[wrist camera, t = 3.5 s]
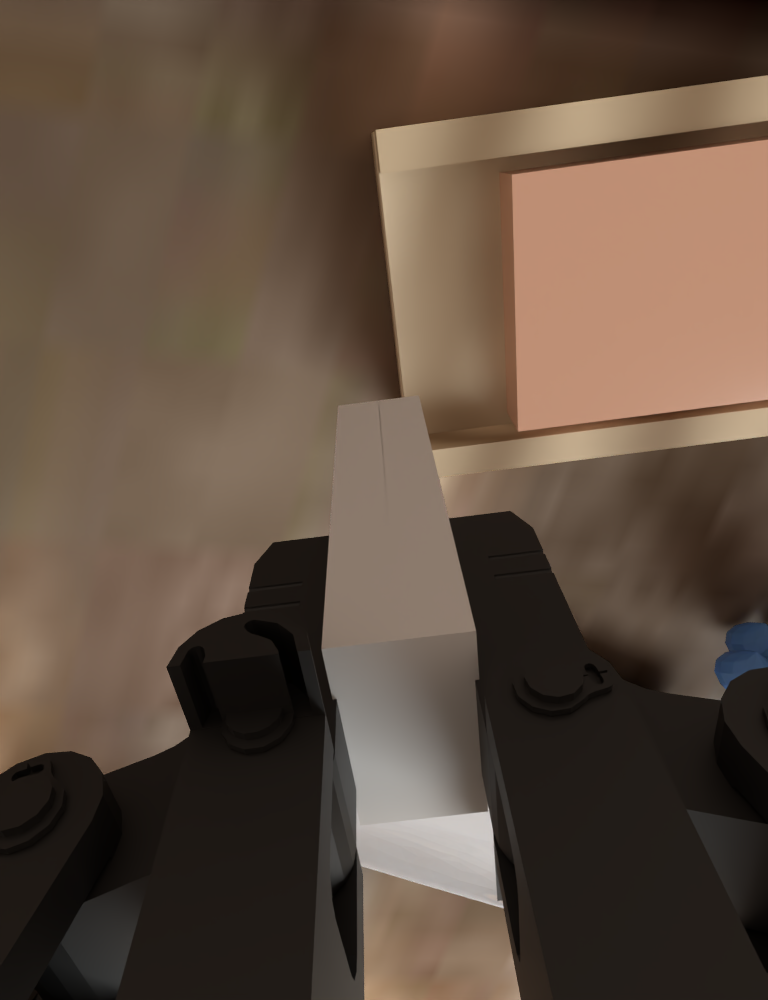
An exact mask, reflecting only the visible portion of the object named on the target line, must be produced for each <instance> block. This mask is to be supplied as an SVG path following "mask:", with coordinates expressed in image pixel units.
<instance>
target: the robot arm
mask: <svg viewBox="0 0 768 1000" xmlns="http://www.w3.org/2000/svg"><path fill="white" fill-rule="evenodd" d="M244 609H245V613H243V614H239V615H235V616H231V617H227V618H223V619H221V620H219V621H217V622H215V623H213V624H211V625H209V626H207V627H205V628H203V629H201V630H199V631H197V632H196V633H195V634H194V635H193V636H191V637H190V638H189V639H188V640H187V641H186V642H184V643H183V644H182V645H181V646H180V647H179V648H178V649H177V651H176V652H175V654H174V656H173V657H172V659H171V661H170V662H169V664H168V666H167V670H168V673H169V675H170V678H171V681H172V683H173V686H174V688H175V691H176V694H177V696H178V699H179V702H180V704H181V707H182V709H183V712H184V715H185V717H186V720H187V723H188V725H189V728H190V730H191V731H190V734H189V737H188V738H186V739H185V740H183V741H182V742H180V743H179V744H177V745H176V746H174V747H172V748H170V749H168V750H165V751H163V752H161V753H159V754H157V755H155V756H152V757H150V758H147V759H144V760H142V761H139V762H137V763H134V764H131V765H129V766H126V767H123V768H121V769H118V770H116V771H113V772H110V773H108V774H105V775H103V773H102V772H101V770H100V769H99V768H98V766H97V765H96V764H95V762H94V761H93V760H92V758H90V757H87V756H84V755H81V754H78V753H75V752H72V751H69V752H57V753H45V754H43V755H40V756H37V757H35V758H32V759H29V760H26V761H24V762H21V763H18V764H16V765H15V766H13V767H11V768H10V769H8V770H7V771H5V772H4V773H2V774H0V1000H364V933H363V874H362V869H361V864H360V860H359V855H358V851H357V847H356V808H357V813H358V817H359V822H360V826H361V825H370V824H379V823H388V822H397V821H406V820H415V819H424V818H433V817H442V816H451V815H461V814H470V813H479V812H488V808H489V813H490V818H491V823H492V828H493V839H494V855H495V871H496V887H497V901H503V906H504V912H505V917H506V922H507V928H508V933H509V938H510V944H511V949H512V954H513V959H514V965H515V970H516V975H517V981H518V986H519V991H520V997H521V1000H768V667H766V668H759V669H752V670H749V671H747V672H745V673H743V674H742V675H740V676H738V677H737V678H735V679H733V680H731V681H730V683H729V685H728V687H727V689H726V691H725V693H724V694H723V696H722V698H721V701H720V700H713V699H705V698H698V697H691V696H683V695H676V694H668V693H664V692H659V691H654V690H650V689H645V688H643V687H640V686H638V685H635V684H633V683H630V682H627V681H625V680H623V679H622V678H621V677H620V675H619V674H618V673H617V672H616V670H615V669H614V668H613V666H612V665H611V664H610V663H609V662H608V661H607V660H605V659H604V658H602V657H600V656H599V655H597V654H596V653H594V652H592V651H591V650H589V649H588V647H587V646H586V644H585V641H584V639H583V637H582V635H581V633H580V630H579V628H578V626H577V624H576V622H575V619H574V617H573V615H572V613H571V611H570V608H569V606H568V604H567V602H566V600H565V597H564V595H563V593H562V591H561V589H560V586H559V584H558V582H557V580H556V578H555V575H554V573H552V571H551V567H550V564H549V562H548V560H547V558H546V556H545V554H543V549H542V547H541V545H540V542H539V540H538V538H537V536H536V534H535V531H534V529H533V527H531V526H530V525H528V524H527V523H526V522H524V521H523V520H522V519H520V518H519V517H518V516H516V515H515V514H514V513H512V512H511V511H506V512H498V513H490V514H482V515H474V516H466V517H458V518H449V517H448V513H447V509H446V505H445V501H444V497H443V493H442V489H441V485H440V480H439V476H438V472H437V468H436V464H435V460H434V456H433V452H432V448H431V443H430V439H429V435H428V431H427V427H426V423H425V419H424V415H423V411H422V406H421V402H420V398H419V395H418V396H410V397H402V398H394V399H386V400H379V401H371V402H363V403H355V404H347V405H340V406H338V416H337V431H336V445H335V460H334V474H333V489H332V503H331V517H330V532H329V536H323V537H314V538H306V539H298V540H290V541H282V542H274V543H272V545H271V546H270V547H269V548H268V549H267V550H266V552H265V553H264V554H263V555H262V556H261V557H260V559H259V560H258V561H257V562H256V563H255V565H254V569H253V573H252V577H251V582H250V586H249V592H248V594H247V598H246V602H245V607H244Z"/></svg>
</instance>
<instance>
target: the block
mask: <svg viewBox="0 0 768 1000" xmlns="http://www.w3.org/2000/svg"><path fill="white" fill-rule="evenodd" d="M499 181H500V212H501V243H502V275H503V306H504V337H505V368H506V399H507V413H508V415H509V417H510V418H511V420H512V422H513V424H514V425H515V427H516V429H517V431H518V432H519V431H527V430H535V429H542V428H550V427H558V426H566V425H574V424H581V423H589V422H597V421H605V420H613V419H621V418H628V417H636V416H644V415H652V414H660V413H667V412H675V411H683V410H691V409H699V408H706V407H714V406H722V405H730V404H738V403H745V402H753V401H761V400H768V136H761V137H754V138H747V139H740V140H732V141H725V142H718V143H710V144H703V145H696V146H688V147H681V148H674V149H666V150H659V151H652V152H645V153H637V154H630V155H623V156H615V157H608V158H601V159H593V160H586V161H579V162H572V163H564V164H557V165H550V166H542V167H535V168H528V169H520V170H513V171H506V172H499Z"/></svg>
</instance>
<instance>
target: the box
mask: <svg viewBox="0 0 768 1000" xmlns="http://www.w3.org/2000/svg"><path fill="white" fill-rule="evenodd" d="M761 136H768V75H767V76H759V77H752V78H745V79H738V80H731V81H723V82H716V83H709V84H702V85H695V86H688V87H680V88H673V89H666V90H659V91H652V92H644V93H637V94H630V95H623V96H616V97H608V98H601V99H594V100H587V101H580V102H572V103H565V104H558V105H551V106H544V107H536V108H529V109H522V110H515V111H508V112H500V113H493V114H486V115H479V116H472V117H464V118H457V119H450V120H443V121H436V122H428V123H421V124H414V125H407V126H400V127H392V128H385V129H378V130H375V131H374V132H372V133H371V140H372V149H373V158H374V166H375V175H376V184H377V193H378V201H379V210H380V219H381V228H382V236H383V245H384V254H385V263H386V271H387V280H388V289H389V298H390V306H391V315H392V324H393V333H394V341H395V350H396V359H397V368H398V376H399V385H400V394H401V398H402V397H410V396H418V395H419V398H420V402H421V406H422V411H423V415H424V419H425V423H426V427H427V431H428V435H429V439H430V443H431V448H432V452H433V456H434V460H435V464H436V468H437V472H438V476H439V478H441V477H449V476H457V475H464V474H472V473H480V472H488V471H496V470H504V469H512V468H520V467H528V466H535V465H543V464H551V463H559V462H567V461H575V460H583V459H591V458H598V457H606V456H614V455H622V454H630V453H638V452H646V451H654V450H661V449H669V448H677V447H685V446H693V445H701V444H709V443H717V442H725V441H732V440H740V439H748V438H756V437H764V436H768V400H761V401H753V402H745V403H738V404H730V405H722V406H714V407H706V408H699V409H691V410H683V411H675V412H667V413H660V414H652V415H644V416H636V417H628V418H621V419H613V420H605V421H597V422H589V423H581V424H574V425H566V426H558V427H550V428H542V429H535V430H527V431H519V432H518V431H517V429H516V427H515V425H514V424H513V422H512V420H511V418H510V417H509V415H508V413H507V399H506V368H505V337H504V306H503V275H502V243H501V212H500V181H499V172H506V171H513V170H520V169H528V168H535V167H542V166H550V165H557V164H564V163H572V162H579V161H586V160H593V159H601V158H608V157H615V156H623V155H630V154H637V153H645V152H652V151H659V150H666V149H674V148H681V147H688V146H696V145H703V144H710V143H718V142H725V141H732V140H740V139H747V138H754V137H761Z"/></svg>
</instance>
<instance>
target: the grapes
mask: <svg viewBox="0 0 768 1000" xmlns="http://www.w3.org/2000/svg"><path fill="white" fill-rule="evenodd" d="M725 643H726V645H727V647H728V649H729V651H730V652H725V653H724V654H723V655H721V656H720V657H719V658H718V659H717V660H716V664H715V673H716V675H717V678H718V680H719V682H720V684H721V685H722V686H723V687H724V688H725V689H727V687H728V685H729V683H730V681H731V680H733V679H735V678H737V677H738V676H740V675H742V674H743V673H745V672H747V671H749V670H752V669H759V668H766V667H768V625H767V624H766V623H751V622H748V623H743V624H739V625H735V626H734V627H733V628H731V629H730V630H729V631H728V632H727V634H726V641H725Z"/></svg>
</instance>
